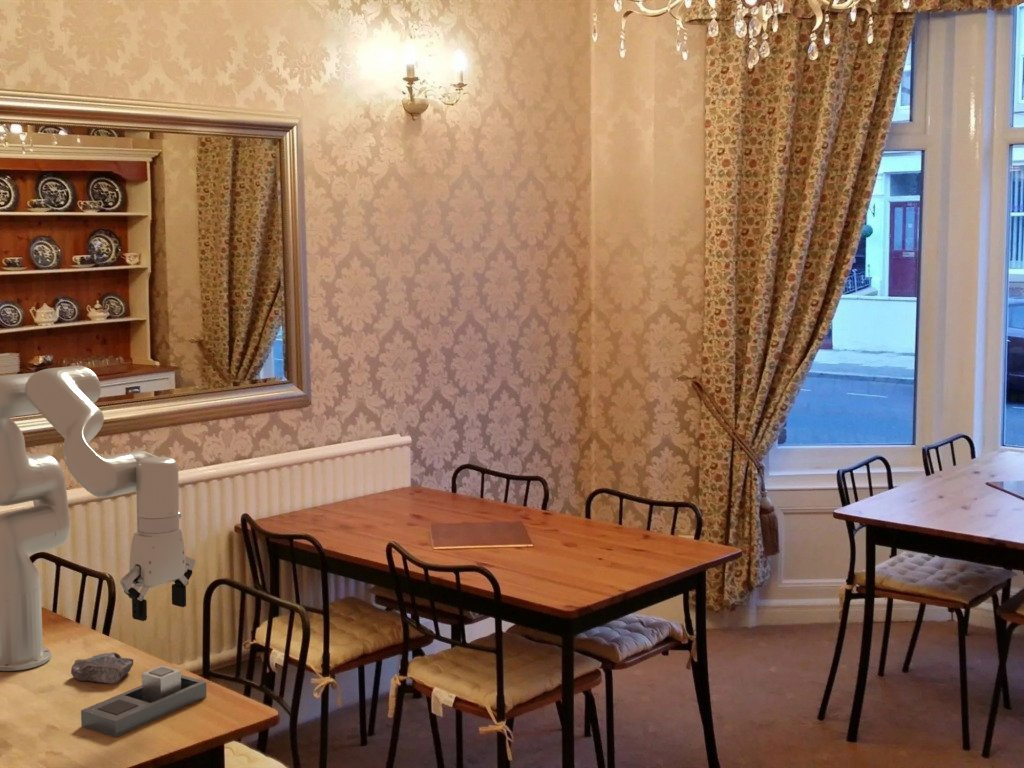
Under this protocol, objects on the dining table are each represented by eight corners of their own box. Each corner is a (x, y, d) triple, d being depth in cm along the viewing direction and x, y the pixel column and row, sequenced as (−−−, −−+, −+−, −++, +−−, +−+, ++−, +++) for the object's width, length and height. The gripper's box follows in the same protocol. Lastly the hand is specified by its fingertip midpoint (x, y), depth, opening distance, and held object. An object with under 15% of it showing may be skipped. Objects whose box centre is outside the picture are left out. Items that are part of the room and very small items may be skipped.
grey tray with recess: (81, 726, 212) (80, 709, 211) (173, 687, 231) (172, 672, 230) (115, 737, 207) (115, 720, 207) (206, 696, 226) (206, 681, 226)
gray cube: (142, 703, 222) (141, 672, 221) (162, 695, 226) (162, 664, 225) (161, 709, 219) (160, 677, 218) (181, 700, 223) (180, 669, 223)
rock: (84, 668, 240) (83, 647, 240) (138, 671, 239) (137, 650, 239) (65, 684, 232) (65, 662, 232) (121, 686, 231) (120, 664, 231)
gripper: (178, 512, 227) (179, 597, 230) (107, 530, 213) (109, 621, 215) (206, 517, 224) (207, 604, 226) (136, 536, 209) (137, 629, 211)
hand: (159, 612), depth 220 cm, fingers open, 9 cm apart
